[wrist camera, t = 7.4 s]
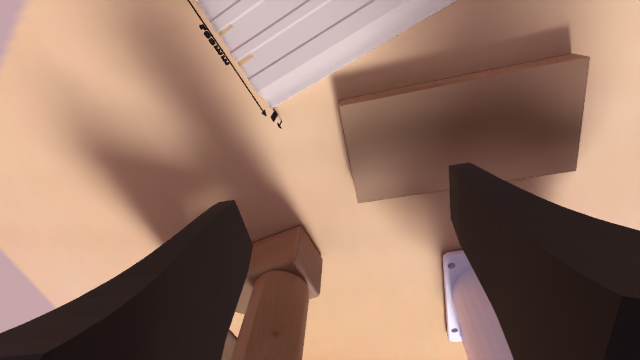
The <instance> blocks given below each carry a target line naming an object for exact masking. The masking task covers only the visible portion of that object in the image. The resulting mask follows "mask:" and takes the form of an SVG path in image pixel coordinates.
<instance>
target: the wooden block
mask: <svg viewBox="0 0 640 360" xmlns="http://www.w3.org/2000/svg"><path fill="white" fill-rule="evenodd" d="M252 244H253V248H252V254H251V260H250V265H249V270H248V274H247V277H246V280H245V283H244V286H243V289H242V292H241V295H240V298H239V301H238V304H237V307H236V310H235V312H238V313H242V314H245V316H244V319H243V322H242V326H241V329H240V332H239V335H238V338H237V337H236V336H235V335H234V334H233V333H232V332H231V331H230V330H229V331H228V334H227V338H226V341H225V345H224V350H223V354H222V359H221V360H302V355H303V346H304V337H305V329H306V320H307V311H308V303H309V299H311V298H315V297H317V296H319V294H320V286H321V274H322V262H323V261H322V258H321V256H320V254H319V253H318V251H317V250H316V248H315V246H314V245H313V243H312V242H311V240H310V239H309V237H308V235H307V234H306V232H305V231H304V229H303V228H302V227H301V226H298V227H295V228H292V229H289V230H287V231H284V232H281V233H279V234H276V235H273V236H270V237H268V238H265V239H262V240H260V241H257V242H254V243H252Z"/></svg>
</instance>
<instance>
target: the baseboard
mask: <svg viewBox="0 0 640 360" xmlns="http://www.w3.org/2000/svg"><path fill="white" fill-rule="evenodd" d="M195 1H196V2H197V3H198V4H199V6H200V7H201V9H202V10H203V12H204V13H205V15H206V16H207V18H208V19H209V21H210V23H211V25H212V26H213V28H214V29H215V31H216V32H217V33H218V34H219V36H220V37H221V39H222V40H223V42H224V43H225V45H226V46H227V48H228V49H229V51H230V53H231V55H232V56H233V58H234V59H235V61H236V62H237V63H238V64H239V66H240V67H241V69H242V71H243V72H244V74H245V75H246V77H247V78H248V81H249V82H250V84H251V85H252V87H253V88H254V90H255V91H256V92H257V93H258V94H259V95H260V96H262V97H263V98H264V99H265V100H266V102H267V103H268V104H269V106H270V108H271V109H272V108H273V107H275V106H277V105H278V104H280V103H282V102H284V101H285V100H287V99H289V98H290V97H292V96H294V95H296V94H297V93H299V92H301V91H302V90H304V89H306V88H308V87H309V86H311V85H313V84H314V83H316V82H318V81H320V80H321V79H323V78H325V77H326V76H328V75H330V74H332V73H333V72H335V71H337V70H338V69H340V68H342V67H344V66H345V65H347V64H349V63H350V62H352V61H354V60H356V59H357V58H359V57H361V56H362V55H364V54H366V53H368V52H369V51H371V50H373V49H374V48H376V47H378V46H380V45H381V44H383V43H385V42H386V41H388V40H390V39H392V38H393V37H395V36H397V35H398V34H400V33H402V32H404V31H405V30H407V29H409V28H410V27H412V26H414V25H416V24H417V23H419V22H421V21H422V20H424V19H426V18H428V17H429V16H431V15H433V14H434V13H436V12H438V11H440V10H441V9H443V8H445V7H446V6H448V5H450V4H452V3H453V2H455V1H457V0H195ZM188 2H189V3H190V5H191V6H192V8H193V9H194V11H195V12H196V14H197V15H198V17H199V18H200V19H201V17H200V16H199V14H198V13H197V11H196V10H195V8H194V7H193V5H192V4H191V2H190V1H189V0H188ZM201 21H202V22H203V20H202V19H201ZM203 24H204V25H205V23H204V22H203ZM203 24H202V25H199V27H200V29H201V30H202V29H204V30H208V31H209V29H208V28H207V26H206V25H205V26H204V25H203ZM205 27H206V28H207V29H206V28H205ZM208 31H205V32H204V35H205V36H206V37H207V38H210V37H211V36H212V37H213V35H212V34H211V32H210V31H209V32H208ZM210 34H211V35H210ZM213 39H214V40H215V38H214V37H213ZM213 39H212V38H210V39H209V42H210V44H211V45H215V44H216V43H217V41H216V40H215V41H214V40H213ZM215 42H216V43H215ZM218 46H219V44H218V43H217V45H216V46H214V48H215V50H216V51H217V52H218V54H219V55H222V54H224V55H225V53H224V52H223V50H222V49H221V47H220V46H219V49H217V47H218ZM220 49H221V51H222V52H223V53H222V52H221V53H220ZM224 55H223V56H221V58H222V60H223V61H224V62H225V64H226V65H229V64H231V65H232V63H231V62H230V60H229V59H228V57H227V56H226V55H225V56H224ZM224 57H226V58H227V59H224ZM227 60H228V61H229V62H228V63H227V62H226V61H227ZM232 67H233V68H234V66H233V65H232ZM234 70H235V71H236V69H235V68H234ZM236 73H237V74H238V72H237V71H236ZM238 76H239V77H240V75H239V74H238ZM240 79H241V80H242V78H241V77H240ZM242 82H243V83H244V81H243V80H242ZM244 85H245V86H246V84H245V83H244ZM246 88H247V89H248V87H247V86H246ZM248 91H249V92H250V90H249V89H248ZM250 94H251V95H252V93H251V92H250ZM252 97H253V98H254V96H253V95H252ZM254 100H255V101H256V99H255V98H254ZM256 103H257V104H258V102H257V101H256ZM258 106H259V107H260V105H259V104H258ZM260 108H261V107H260ZM261 110H262V108H261ZM273 110H274V109H273ZM262 111H263V110H262ZM262 114H263V115H265V116H267V115H266V112H265V110H264V111H263V112H262ZM276 117H277V113H276V111H275V112H273V114H272V115H271V119H272V120H273V122H274V121H275V119H276ZM281 123H282V121H281V122H280V124H279V123H277V124H278V127H279V128H281V126H280V125H281ZM281 129H282V128H281Z"/></svg>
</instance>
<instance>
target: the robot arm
mask: <svg viewBox="0 0 640 360" xmlns="http://www.w3.org/2000/svg"><path fill="white" fill-rule="evenodd" d="M449 186H450V208H451V220H452V223H453V226H454V229H455V232H456V234H457V237H458V240H459V243H460V245H461V247H462V249H463V250H461V251H452V252H447V253H445V254H444V255H443V272H444V288H445V304H446V320H447V335H448V338H449V340H450V341H452V342H460V341H462V342H463V345H464V348H465V351H466V354H467V357H468V360H640V231H639V230H635V229H632V228H628V227H624V226H621V225H617V224H613V223H610V222H606V221H603V220H600V219H597V218H593V217H590V216H588V215H585V214H582V213H579V212H576V211H573V210H570V209H567V208H565V207H562V206H560V205H557V204H554V203H552V202H550V201H547V200H545V199H543V198H540V197H538V196H536V195H533V194H531V193H529V192H527V191H525V190H523V189H520V188H518V187H516V186H514V185H512V184H510V183H508V182H506V181H504V180H502V179H501V178H499V177H497V176H495V175H493V174H491V173H489V172H487V171H485V170H484V169H482V168H480V167H478V166H476V165H474V164H472V163H469V162H468V163H462V164H456V165H449ZM252 248H253V244H252V242H251V239H250V237H249V234H248V232H247V230H246V227H245V225H244V222H243V220H242V217H241V215H240V212H239V210H238V207H237V205H236V202H235V200H232V201H225V202H219V203H217V204H215V205H214V206H212V207H211V208H209V209H208V210H207V211H205V212H204V213H203V214H201V215H200V216H199V217H197V218H196V219H195V220H194V221H192V222H191V223H190V224H189V225H187V226H186V227H185V228H184V229H182V230H181V231H180V232H179V233H177V234H176V235H175V236H173V237H172V238H171V239H169V240H168V241H167V242H165V243H164V244H163V245H161V246H160V247H159V248H157V249H156V250H155V251H153V252H152V253H151V254H149V255H148V256H146V257H145V258H144V259H142V260H141V261H139V262H138V263H136V264H135V265H133V266H132V267H130V268H129V269H127V270H125V271H124V272H122V273H121V274H119V275H117V276H116V277H114V278H113V279H111V280H109V281H107V282H106V283H104V284H102V285H100V286H98V287H97V288H95V289H93V290H91V291H89V292H88V293H86V294H84V295H82V296H80V297H79V298H77V299H75V300H73V301H71V302H69V303H67V304H65V305H63V306H61V307H59V308H57V309H55V310H53V311H50V312H48V313H46V314H44V315H42V316H40V317H37V318H35V319H33V320H31V321H29V322H26V323H24V324H22V325H19V326H17V327H15V328H12V329H10V330H7V331H5V332H3V333H0V360H221V359H222V354H223V350H224V345H225V341H226V338H227V334H228V331H229V328H230V325H231V322H232V319H233V316H234V313H235V310H236V307H237V304H238V301H239V298H240V295H241V292H242V289H243V286H244V283H245V280H246V277H247V274H248V270H249V265H250V260H251V254H252ZM450 263H453V264H451V265H449V264H450Z"/></svg>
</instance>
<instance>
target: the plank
mask: <svg viewBox="0 0 640 360" xmlns="http://www.w3.org/2000/svg"><path fill="white" fill-rule="evenodd" d="M589 59H590V57H588V56H582V55H577V54H572V53H571V54H566V55H561V56H556V57H551V58H546V59H541V60H536V61H531V62H526V63H521V64H516V65H511V66H506V67H501V68H497V69H492V70H487V71H482V72H477V73H472V74H467V75H462V76H457V77H452V78H447V79H442V80H437V81H432V82H427V83H422V84H417V85H412V86H407V87H402V88H397V89H392V90H387V91H382V92H377V93H372V94H367V95H362V96H357V97H352V98H347V99H342V100H340V101H339V109H340V114H341V119H342V124H343V130H344V135H345V140H346V145H347V150H348V155H349V160H350V165H351V170H352V176H353V181H354V186H355V191H356V196H357V201H358V203H363V202H370V201H377V200H383V199H390V198H397V197H403V196H410V195H417V194H423V193H430V192H437V191H443V190H450V186H449V165H456V164H462V163H468V162H469V163H472V164H474V165H476V166H478V167H480V168H482V169H484V170H485V171H487V172H489V173H491V174H493V175H495V176H497V177H499V178H501V179H502V180H504V181H510V180H517V179H524V178H530V177H537V176H544V175H550V174H557V173H564V172H570V171H576V167H577V158H578V150H579V142H580V134H581V125H582V117H583V109H584V101H585V92H586V84H587V76H588V68H589Z"/></svg>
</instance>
